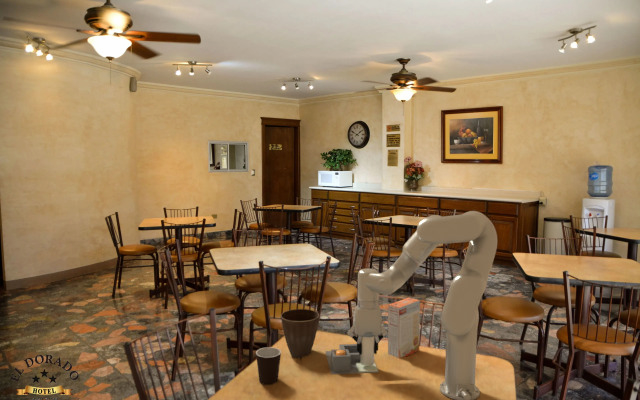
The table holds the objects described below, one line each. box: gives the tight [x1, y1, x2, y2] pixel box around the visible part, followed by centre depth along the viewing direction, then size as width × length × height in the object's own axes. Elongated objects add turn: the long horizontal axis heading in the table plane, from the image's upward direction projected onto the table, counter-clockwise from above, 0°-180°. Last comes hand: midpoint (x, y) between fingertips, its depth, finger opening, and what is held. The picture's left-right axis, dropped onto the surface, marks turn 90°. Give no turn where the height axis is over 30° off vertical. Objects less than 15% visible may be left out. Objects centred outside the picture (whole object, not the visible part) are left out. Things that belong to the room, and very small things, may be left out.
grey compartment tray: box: [325, 343, 379, 375], centre depth 174 cm, size 20×17×6 cm
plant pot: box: [280, 308, 320, 359], centre depth 182 cm, size 15×15×16 cm
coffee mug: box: [255, 346, 282, 386], centre depth 162 cm, size 12×9×10 cm
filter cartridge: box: [360, 333, 375, 366], centre depth 168 cm, size 5×5×12 cm
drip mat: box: [356, 361, 379, 374], centre depth 169 cm, size 7×7×1 cm
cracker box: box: [387, 297, 421, 359], centre depth 183 cm, size 14×6×21 cm, turn 134°
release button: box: [336, 349, 346, 356], centre depth 168 cm, size 4×4×4 cm
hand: (367, 352), depth 168 cm, fingers closed on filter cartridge, 4 cm apart
